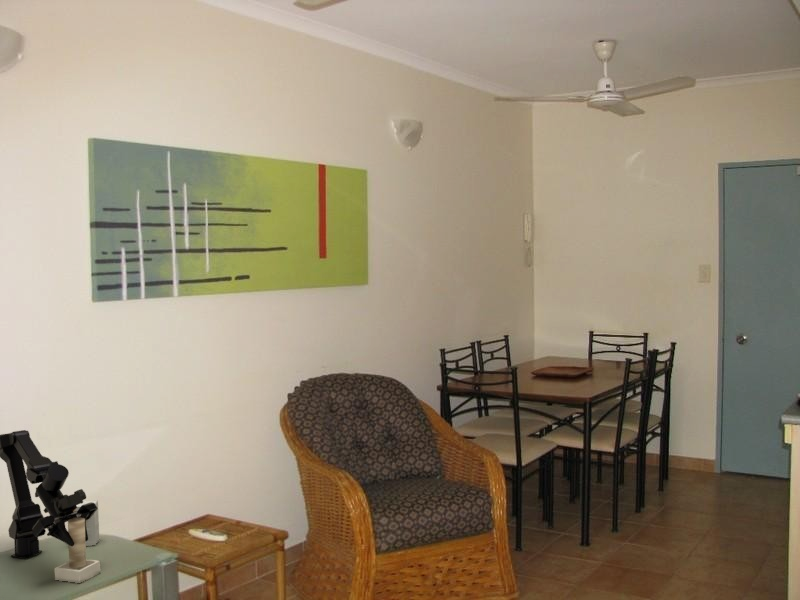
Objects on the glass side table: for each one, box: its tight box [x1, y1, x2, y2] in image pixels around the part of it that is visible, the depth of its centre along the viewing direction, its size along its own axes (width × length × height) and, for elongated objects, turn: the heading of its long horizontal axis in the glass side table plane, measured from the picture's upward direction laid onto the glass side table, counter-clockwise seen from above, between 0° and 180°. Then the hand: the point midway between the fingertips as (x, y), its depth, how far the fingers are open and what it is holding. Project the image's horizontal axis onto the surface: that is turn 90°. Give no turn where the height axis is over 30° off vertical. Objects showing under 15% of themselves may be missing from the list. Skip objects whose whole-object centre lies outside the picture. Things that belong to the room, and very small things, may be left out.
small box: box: [73, 500, 100, 547], centre depth 261 cm, size 8×6×13 cm
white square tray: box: [54, 558, 101, 584], centre depth 233 cm, size 9×9×4 cm
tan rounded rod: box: [67, 518, 87, 568], centre depth 232 cm, size 4×4×13 cm
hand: (80, 542), depth 232 cm, fingers closed on tan rounded rod, 4 cm apart
